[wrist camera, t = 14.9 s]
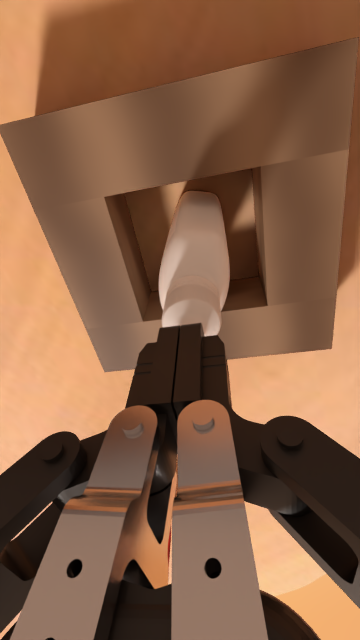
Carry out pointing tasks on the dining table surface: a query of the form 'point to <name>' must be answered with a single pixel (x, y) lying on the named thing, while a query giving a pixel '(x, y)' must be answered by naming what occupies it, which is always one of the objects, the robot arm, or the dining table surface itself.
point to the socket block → (193, 163)
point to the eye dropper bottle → (195, 264)
